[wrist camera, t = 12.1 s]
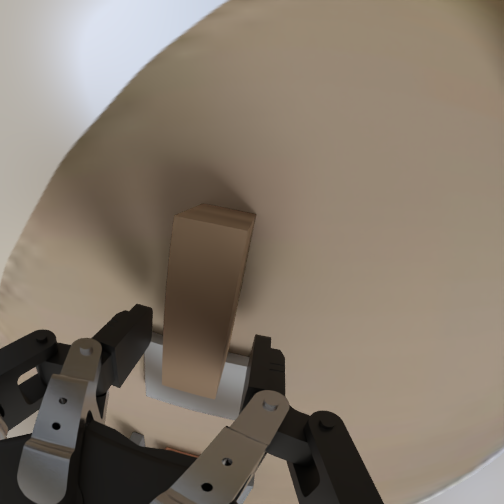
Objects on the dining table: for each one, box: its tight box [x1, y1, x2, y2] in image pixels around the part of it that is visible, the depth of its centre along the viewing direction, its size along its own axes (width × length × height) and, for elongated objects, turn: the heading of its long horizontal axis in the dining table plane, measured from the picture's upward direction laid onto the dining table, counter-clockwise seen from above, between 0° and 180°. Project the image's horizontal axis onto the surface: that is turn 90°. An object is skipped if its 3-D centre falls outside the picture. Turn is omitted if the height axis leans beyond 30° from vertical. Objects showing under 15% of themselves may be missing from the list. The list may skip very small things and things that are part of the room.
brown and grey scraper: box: [144, 204, 256, 420], centre depth 13 cm, size 13×7×4 cm, turn 168°
